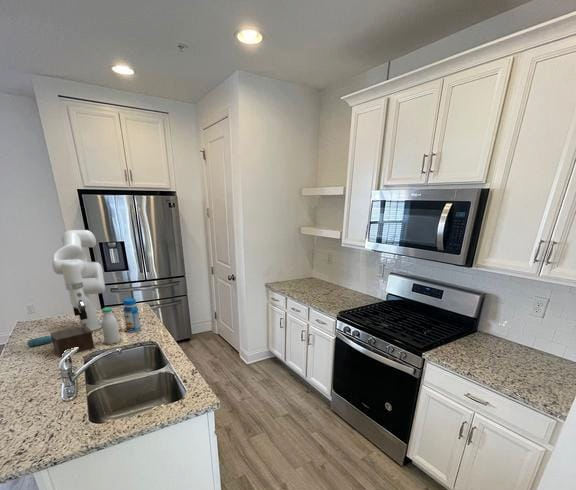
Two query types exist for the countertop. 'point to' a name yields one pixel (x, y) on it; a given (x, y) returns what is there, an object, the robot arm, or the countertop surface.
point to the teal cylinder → (39, 341)
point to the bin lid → (71, 332)
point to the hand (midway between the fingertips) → (81, 317)
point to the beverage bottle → (131, 315)
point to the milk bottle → (110, 327)
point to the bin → (73, 343)
